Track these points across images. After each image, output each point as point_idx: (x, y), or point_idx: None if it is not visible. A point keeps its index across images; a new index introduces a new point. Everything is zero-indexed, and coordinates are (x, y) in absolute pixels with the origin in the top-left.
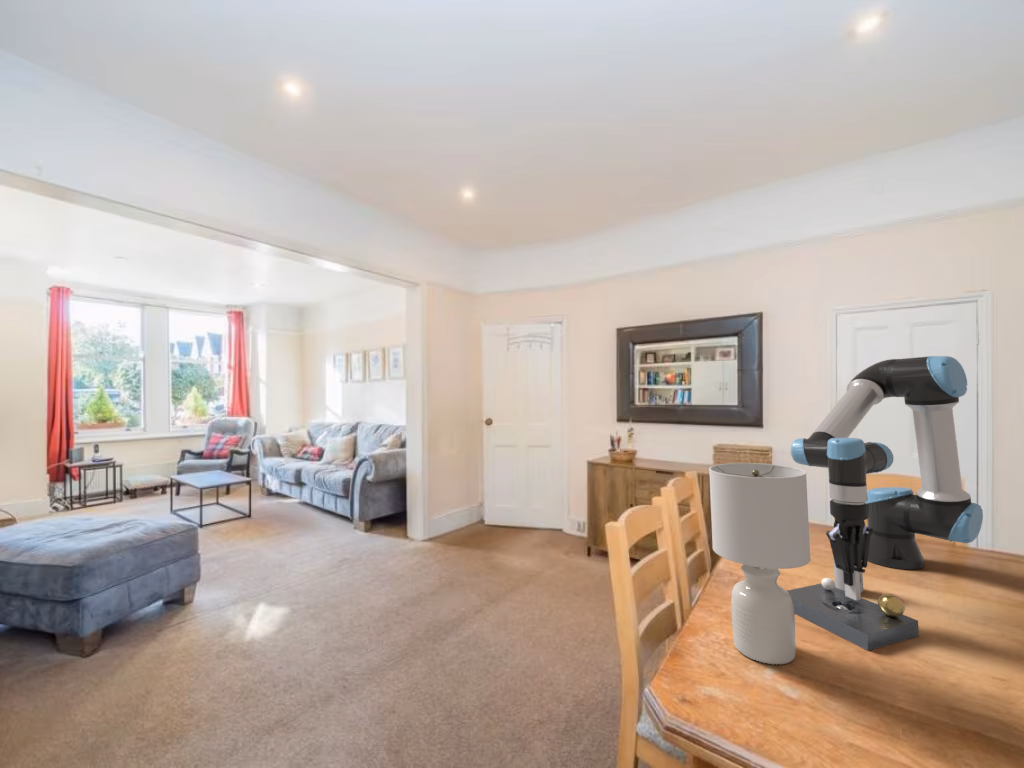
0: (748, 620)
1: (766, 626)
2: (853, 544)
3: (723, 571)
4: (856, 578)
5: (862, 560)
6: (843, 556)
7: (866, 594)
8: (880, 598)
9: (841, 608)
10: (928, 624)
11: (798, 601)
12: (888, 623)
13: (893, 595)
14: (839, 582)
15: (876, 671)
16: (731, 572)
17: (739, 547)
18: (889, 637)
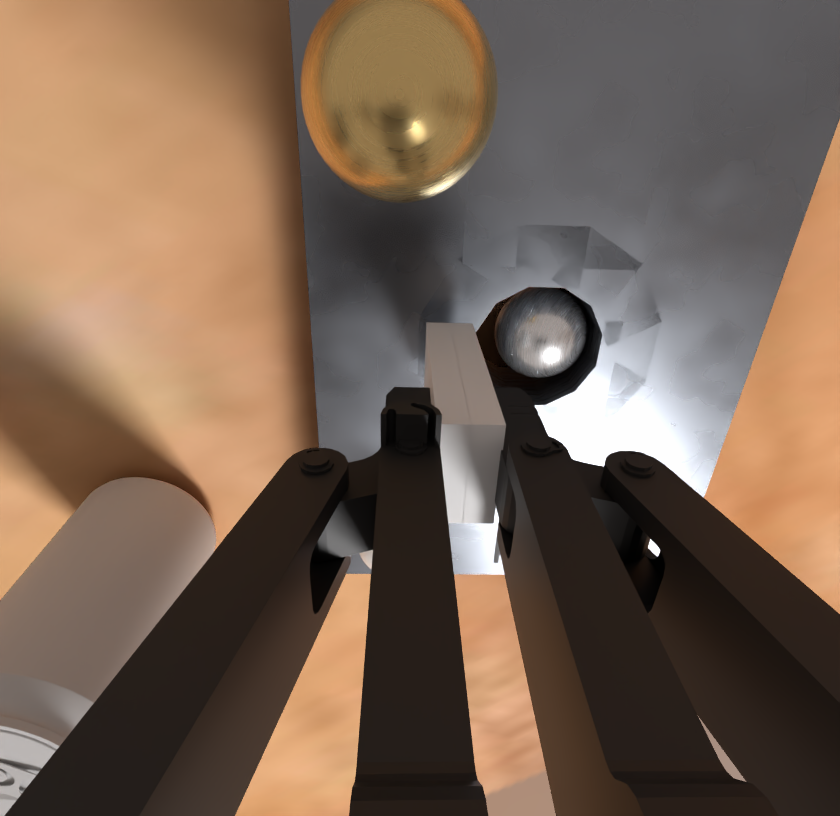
0: None
1: None
2: (670, 787)
3: (522, 772)
4: (481, 397)
5: (327, 519)
6: (799, 596)
7: (104, 462)
8: (468, 154)
9: (573, 334)
10: (75, 62)
11: (707, 476)
12: (557, 20)
13: (375, 75)
14: (204, 560)
15: None
16: (502, 761)
17: None
18: None
